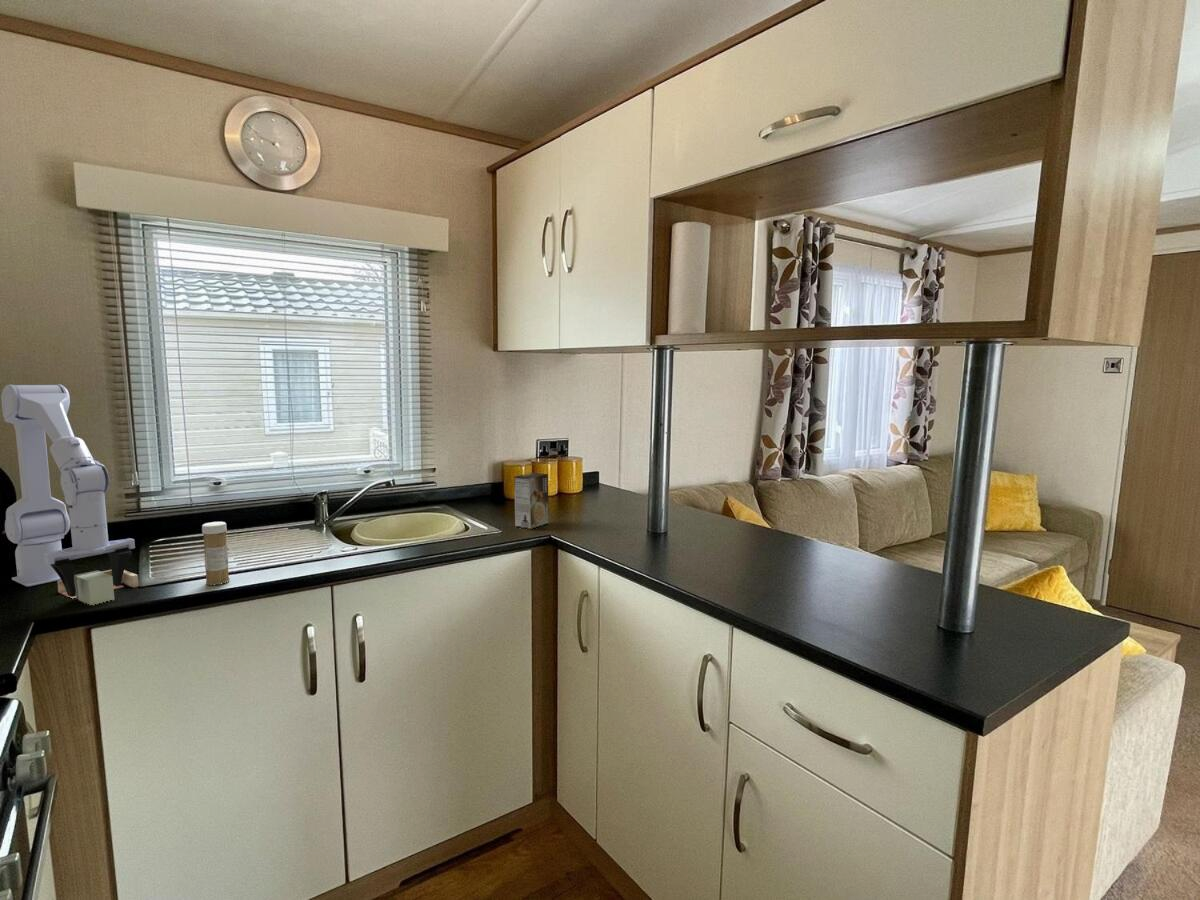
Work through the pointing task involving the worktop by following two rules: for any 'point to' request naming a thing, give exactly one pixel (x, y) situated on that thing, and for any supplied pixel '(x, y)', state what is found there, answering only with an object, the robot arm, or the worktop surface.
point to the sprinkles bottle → (215, 552)
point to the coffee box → (531, 500)
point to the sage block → (94, 587)
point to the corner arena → (127, 579)
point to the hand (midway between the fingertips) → (94, 590)
